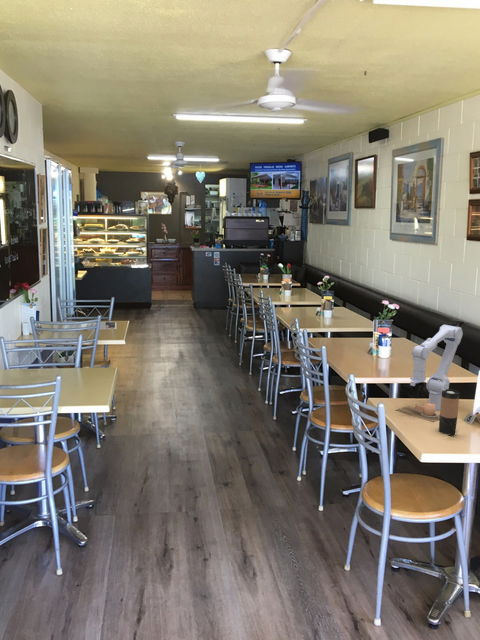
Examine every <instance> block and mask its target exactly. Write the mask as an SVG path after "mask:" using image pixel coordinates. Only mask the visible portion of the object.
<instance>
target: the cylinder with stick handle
mask: <svg viewBox="0 0 480 640" xmlns="http://www.w3.org/2000/svg"><path fill="white" fill-rule="evenodd" d="M435 405H436V404H435V403H431V402H429V401H425V402H424V404H423V405H420V404H415V406H414V408H415V409H416V410H420V411H423V414H424V415H426V416H434V414H435V413H436V410H435Z"/></svg>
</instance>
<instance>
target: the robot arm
mask: <svg viewBox="0 0 480 640" xmlns="http://www.w3.org/2000/svg"><path fill="white" fill-rule="evenodd" d="M463 335H464V333H463V329H462V327H460V326H455V325H454V326H453V325H448V324H443V325H441V326H440V327H439V330H438V332H437V333H436V334H435V335H434V336H433V337H432V338H431V337H428V338H427V339H426V340H424V341H423V342H422V343H421V344H419V345H416V346H414V347H413V348H412V351H411V354H412V355H411V356H412V361H413V366H412V367H413V368H412V376H411V377H410V378H409V380H411V381H410V382H409V386H410V388H411V391H412V392H411V393H412V397H413V398H415V399H418V398H419V397H421V396H422V394H423V391H424V388H425V386H426V389H427V390H428V392H429V395H428V402H431V403H435V404H436V405H435V411H440V407H441V397H442V390H443V391H445V390H446V389H450V382H451V381H450V379H449V378H448V373H449V370H450V367H451V365H452V362H453V360H454V356H455V354H456V351H457V348H458V346H459V345H460V343H461V341H462V338H463ZM442 341H444V343H445V344H446V345H445V349H444V351H443V353H442V356H441V358H440V361H439V364H438V367H437V370H436V372H435V373H433V374H431V375H430V376H429V378H428V380H427V377H426V365H427V359H428V358H429V356H430V354H431V352H433V351H434V350H435V349H436V348H437V347H438V343H440V342H442ZM426 381H427V382H426Z"/></svg>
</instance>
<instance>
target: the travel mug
mask: <svg viewBox="0 0 480 640" xmlns="http://www.w3.org/2000/svg"><path fill="white" fill-rule="evenodd" d="M459 401H460V391H458V390H456V389H450V388H449V389H446V390H445V391H443V390H442V397H441V407H440V410H439V415H440V418H439V421H438V422H439V423H438V432H440V434H444V435H447V437H455V436H456V430H457V422H458V415H459V413H458V412H459Z"/></svg>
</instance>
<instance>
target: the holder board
mask: <svg viewBox="0 0 480 640" xmlns="http://www.w3.org/2000/svg"><path fill="white" fill-rule="evenodd" d="M394 411H395V412H399V413H402V414H406V415H408V416H412V417H413V418H418V419H422V420H425V421H427V422H431V423H436V422H439V418H440V414H438V413H437V412H435V414H434V416H426V415H424V414H423V411H420V410H416V409H415V406H414V407H413V406H410V405H408V406H407V405H406V406H404V407H401V408H398V409H397V408H396V409H395V410H394Z"/></svg>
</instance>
